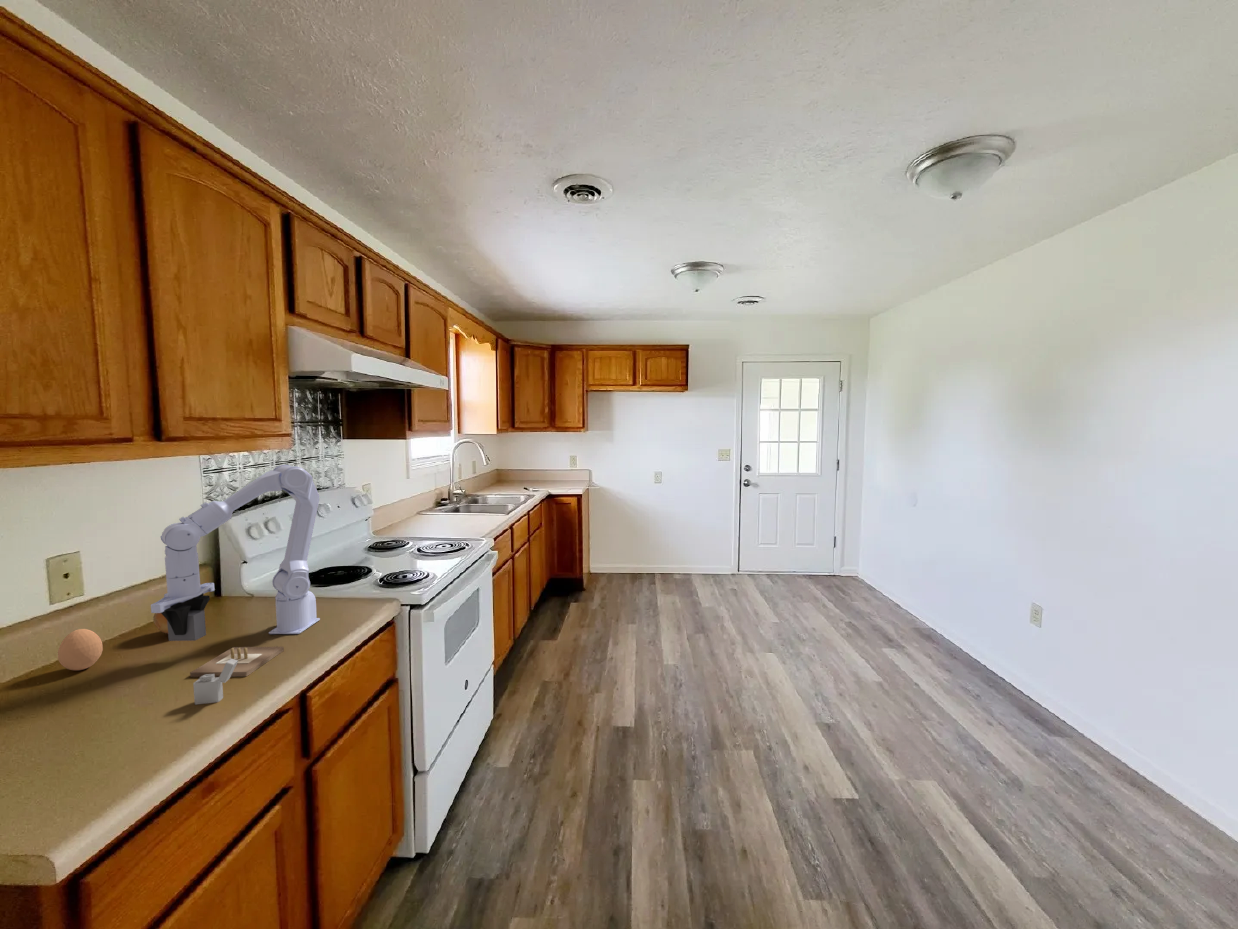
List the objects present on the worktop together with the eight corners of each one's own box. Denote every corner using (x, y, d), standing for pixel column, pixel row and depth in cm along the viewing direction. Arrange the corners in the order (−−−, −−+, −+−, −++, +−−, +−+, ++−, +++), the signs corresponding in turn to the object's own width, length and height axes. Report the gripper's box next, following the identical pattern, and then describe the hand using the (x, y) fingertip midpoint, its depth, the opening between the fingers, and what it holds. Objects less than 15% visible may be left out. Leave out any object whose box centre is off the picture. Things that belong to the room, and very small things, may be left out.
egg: (112, 662, 110) (109, 624, 109) (77, 677, 103) (74, 636, 102) (86, 661, 110) (83, 623, 109) (50, 676, 103) (46, 635, 103)
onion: (147, 636, 123) (144, 598, 123) (195, 622, 132) (193, 587, 131) (164, 644, 119) (161, 605, 118) (212, 629, 128) (210, 593, 127)
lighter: (194, 704, 93) (191, 665, 92) (199, 699, 95) (197, 661, 94) (235, 700, 95) (233, 661, 94) (240, 695, 96) (238, 657, 96)
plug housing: (180, 635, 113) (178, 610, 113) (206, 634, 113) (204, 610, 113) (168, 640, 110) (166, 615, 110) (195, 640, 110) (193, 615, 110)
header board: (233, 651, 115) (232, 637, 115) (283, 650, 116) (283, 636, 115) (190, 677, 103) (189, 661, 103) (246, 676, 104) (245, 661, 103)
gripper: (192, 565, 118) (196, 618, 119) (134, 585, 103) (139, 645, 104) (221, 565, 118) (225, 618, 119) (167, 584, 103) (172, 645, 104)
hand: (187, 631), depth 112 cm, fingers closed on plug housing, 3 cm apart
